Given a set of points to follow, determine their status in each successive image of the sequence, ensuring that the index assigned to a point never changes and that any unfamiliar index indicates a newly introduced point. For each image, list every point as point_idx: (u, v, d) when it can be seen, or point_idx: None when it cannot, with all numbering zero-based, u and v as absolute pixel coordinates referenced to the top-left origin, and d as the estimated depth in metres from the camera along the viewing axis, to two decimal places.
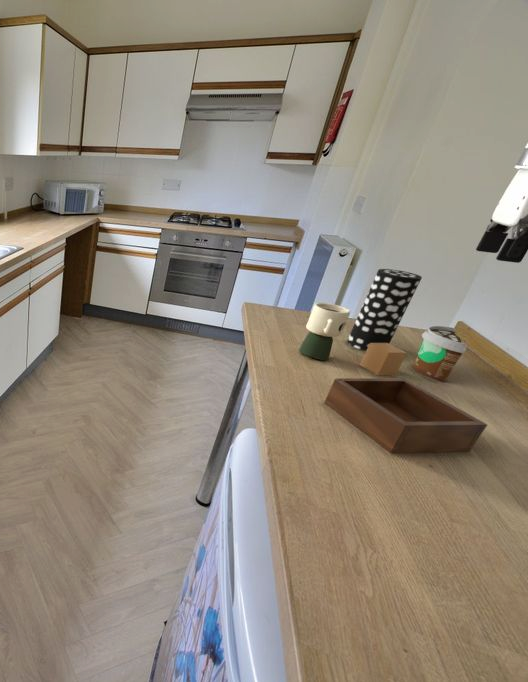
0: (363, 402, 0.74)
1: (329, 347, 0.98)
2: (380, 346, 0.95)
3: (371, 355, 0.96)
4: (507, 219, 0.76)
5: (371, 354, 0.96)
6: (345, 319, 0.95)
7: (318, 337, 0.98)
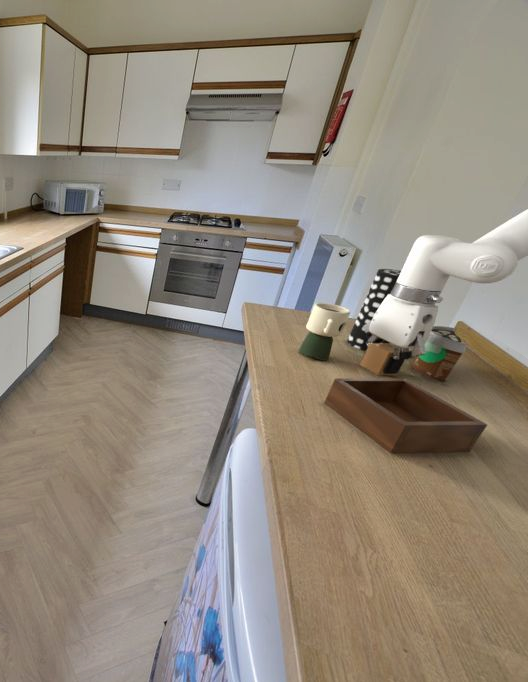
0: (363, 402, 0.74)
1: (329, 347, 0.98)
2: (380, 346, 0.95)
3: (371, 355, 0.96)
4: (394, 340, 0.91)
5: (371, 354, 0.96)
6: (345, 319, 0.95)
7: (318, 337, 0.98)
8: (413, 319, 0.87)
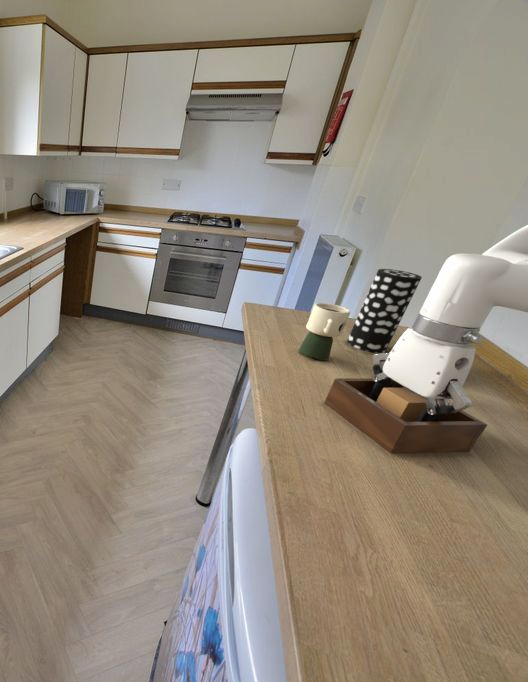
0: (363, 402, 0.74)
1: (329, 347, 0.98)
2: (396, 393, 0.74)
3: (385, 403, 0.75)
4: (417, 388, 0.70)
5: (384, 402, 0.76)
6: (345, 319, 0.95)
7: (318, 337, 0.98)
8: (442, 363, 0.66)
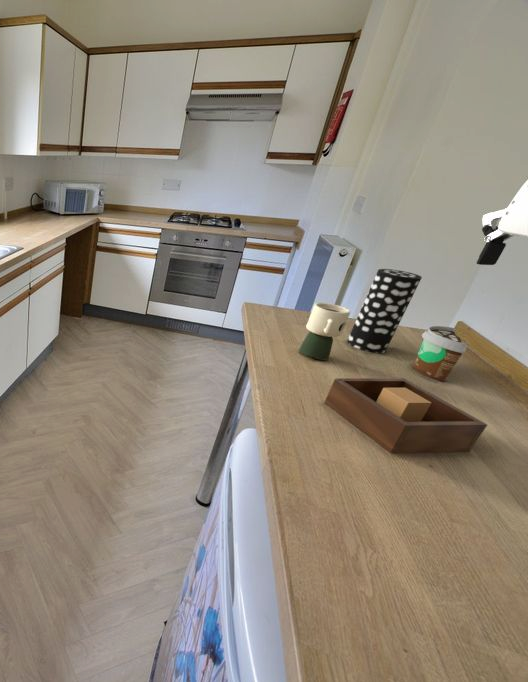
0: (363, 402, 0.74)
1: (329, 347, 0.98)
2: (396, 393, 0.74)
3: (385, 403, 0.75)
4: None
5: (384, 402, 0.76)
6: (345, 319, 0.95)
7: (318, 337, 0.98)
8: None
